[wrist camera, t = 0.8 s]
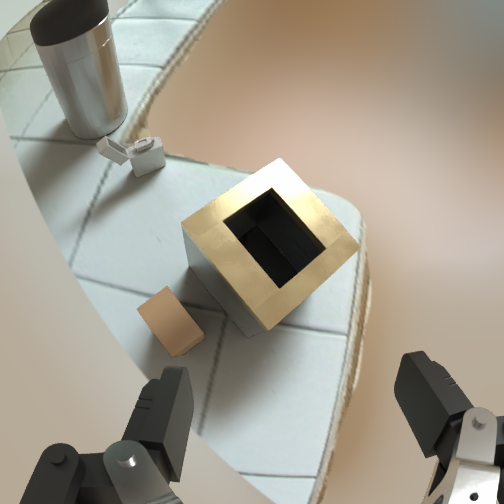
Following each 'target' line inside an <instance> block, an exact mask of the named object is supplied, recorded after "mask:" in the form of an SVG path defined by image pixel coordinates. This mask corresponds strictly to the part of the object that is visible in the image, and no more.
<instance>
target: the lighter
mask: <svg viewBox="0 0 504 504" xmlns="http://www.w3.org/2000/svg"><path fill="white" fill-rule="evenodd" d="M134 143H135V145H133V146H131V147H128V148H127V149H126V148H125V147H123V146H121V145H120V144H118V143H117V142H115V141H113V140H112V139H110V138H109V137H107V136H105V137H103V138H102V139H101V140H100V141H99V142H98V143H97V148H98V151H99V153H100V154H101V155H103V156H104V157H106V158H108V159H110V160H112V161H114V162H116V163H118V164H119V165H122V164H123V163H124V162H126V161H127V160H128V159H130V162H131V165H132V168H133V171H134V173H135V176H136V177H137V178H138V177H140V176H143V175H145V174H147V173H150V172H152V171H154V170H157V169H159V168H162V167H164V166H165V165H166V162H165V156H164V150H163V144H162V142H161V140H160V138H159V136H156V137H153V138H149V137H145V138H142V139H140V140H138V141H135V142H134Z"/></svg>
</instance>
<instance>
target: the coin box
mask: <svg viewBox="0 0 504 504" xmlns="http://www.w3.org/2000/svg"><path fill="white" fill-rule="evenodd" d="M181 225H182V231H183V237H184V242H185V248H186V253H187V258H188V264H189V267H190V268H191V269H192V271H193V272H194V273H195V274H196V276H197V277H198V278H199V279H200V281H201V282H202V283H203V285H204V286H205V287H206V288H207V290H208V291H209V292H210V293H211V295H212V296H213V297H214V298H215V300H216V301H217V302H218V303H219V304H220V306H221V307H222V308H223V309H224V311H225V312H226V313H227V314H228V316H229V317H230V318H231V319H232V320H233V322H234V323H235V324H236V325H237V326H238V328H239V329H240V330H241V331H242V332H243V334H244V335H245V336H246V337H251V336H254V335H257V334H260V333H263V332H266V331H269V330H270V329H271V328H273V327H274V326H275V325H276V324H277V323H279V322H280V321H281V320H282V319H283V318H284V317H285V316H287V315H288V314H289V313H290V312H291V311H292V310H293V309H295V308H296V307H297V306H298V305H299V304H300V303H301V302H302V301H304V300H305V299H306V298H307V297H308V296H309V295H310V294H311V293H312V292H314V291H315V290H316V289H317V288H318V287H319V286H320V285H321V284H322V283H323V282H325V281H326V280H327V279H328V278H329V277H330V276H331V275H332V274H333V273H334V272H335V271H336V270H337V269H339V268H340V267H341V266H342V265H343V264H344V263H345V262H346V261H347V260H348V259H349V258H350V257H351V256H352V255H353V254H354V253H355V252H356V251H357V250H358V249H359V248H360V246H359V244H358V243H357V242H356V241H355V240H354V239H353V237H352V236H351V235H350V234H349V233H348V232H347V230H346V229H345V228H344V227H343V226H342V225H341V223H340V222H339V221H338V220H337V219H336V218H335V217H334V215H333V214H332V213H331V212H330V211H329V210H328V209H327V208H326V207H325V205H324V204H323V203H322V202H321V201H320V200H319V199H318V198H317V197H316V196H315V194H314V193H313V192H312V191H311V190H310V189H309V188H308V187H307V186H306V185H305V184H304V183H303V182H302V181H301V179H300V178H299V177H298V176H297V175H296V174H295V173H294V172H293V171H292V170H291V169H290V168H289V167H288V166H287V165H286V164H285V163H284V162H283V161H282V160H281V159H278V160H276V161H274V162H273V163H271V164H270V165H268V166H266V167H265V168H263V169H261V170H260V171H258V172H257V173H255V174H254V175H252V176H250V177H249V178H247V179H246V180H244V181H243V182H241V183H239V184H238V185H236V186H235V187H233V188H232V189H230V190H229V191H227V192H226V193H224V194H222V195H221V196H219V197H218V198H216V199H215V200H213V201H212V202H210V203H209V204H207V205H206V206H204V207H203V208H201V209H200V210H199V211H197V212H196V213H194V214H193V215H191V216H190V217H188V218H187V219H185V220H184V221H182V222H181ZM256 225H258V227H259V228H260V229H261V230H262V231H263V232H264V234H265V235H266V236H267V237H268V238H269V239H270V241H271V242H272V243H273V244H274V245H275V246H276V248H277V249H278V250H279V251H280V252H281V253H282V255H283V256H284V257H285V258H286V259H287V260H288V262H289V263H290V264H291V265H292V266H293V267H294V269H295V270H296V271H297V272H298V274H297V275H296V276H294V277H293V278H292V279H291V280H290V281H289V282H287V283H286V284H285V285H284V286H283V287H281V288H280V289H279V288H278V287H277V286H276V284H275V283H274V282H273V281H272V280H271V278H270V277H269V276H268V275H267V274H266V273H265V271H264V270H263V269H262V268H261V267H260V265H259V264H258V263H257V262H256V261H255V259H254V258H253V257H252V256H251V255H250V254H249V252H248V251H247V250H246V249H245V248H244V246H243V245H242V244H241V243H240V242H239V240H238V238H239V237H241V236H242V235H243V234H245V233H246V232H247V231H249V230H250V229H252V228H253V227H254V226H256Z"/></svg>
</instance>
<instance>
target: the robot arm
mask: <svg viewBox="0 0 504 504" xmlns="http://www.w3.org/2000/svg"><path fill="white" fill-rule="evenodd" d="M30 31H31V35H32V37H33V40H34V43H35V46H36V48H37V51H38V54H39V56H40V59H41V61H42V63H43V66H44V68H45V71H46V73H47V76H48V78H49V81H50V83H51V85H52V88H53V90H54V92H55V95H56V97H57V99H58V101H59V104H60V106H61V108H62V110H63V112H64V115H65V117H66V119H67V121H68V123H69V125H70V127H71V130H72V131H73V133H74V134H75V135H76V136H77V137H79V138H82V139H95V138H99V137H102V136H105V135H107V134H109V133H111V132H112V131H114V130H115V129H116V128H117V127H118V126H120V125H121V123H122V122H123V121H124V119H125V117H126V115H127V112H128V105H127V101H126V97H125V92H124V87H123V83H122V78H121V74H120V69H119V64H118V59H117V54H116V49H115V44H114V39H113V33H112V28H111V22H110V17H109V9H108V3H107V0H52V1H50V2H49V3H48V4H47V5H45V6H44V7H43V8H42V9H40V10H39V11H38V12H37V14H36V15H35V16H34V17H33V19H32V21H31V23H30ZM394 393H395V397H396V400H397V401H398V403H399V406H400V407H401V409H402V411H403V413H404V415H405V417H406V419H407V421H408V423H409V425H410V427H411V429H412V431H413V433H414V435H415V437H416V439H417V441H418V443H419V445H420V447H421V449H422V452H423V454H424V456H425V458H428V457H431V456H434V455H437V457H438V458H439V459H438V461H437V462H436V464H435V467H434V471H433V474H432V477H431V480H430V483H429V485H428V488H427V491H426V494H425V496H424V499H423V501H422V503H421V504H495V501H496V497H497V499H498V502H499V504H504V416H499V417H495V415H494V414H493V413H492V412H491V411H489V410H487V409H485V408H480V407H475V408H474V406H473V405H472V404H471V402H470V401H469V399H468V398H467V397H466V395H465V394H464V393H463V391H462V390H461V389H460V387H459V386H458V385H457V384H456V382H455V381H454V380H453V378H451V376H450V374H449V373H448V372H447V370H446V369H445V368H444V367H443V366H441V365H440V364H438V363H437V362H435V361H431V360H430V359H429V357H428V356H427V355H426V353H425V352H424V351H417V352H411V353H406V354H404V355H403V357H402V359H401V363H400V367H399V371H398V374H397V377H396V381H395V385H394ZM193 409H194V401H193V394H192V389H191V384H190V379H189V374H188V370H187V368H186V367H170V366H166V367H165V368H164V371H163V374H162V376H161V379H160V380H158V379H152V380H150V381H149V382H148V383H147V384H146V385H145V386H144V387H143V388H142V391H141V393H140V396H139V400H138V401H137V403H136V405H135V409H134V410H133V413H132V415H131V418H130V420H129V423H128V425H127V427H126V430H125V432H124V435H123V437H122V439H121V441H118V442H116V443H113V444H112V445H110V446H109V447H108V448H107V449H106V451H105V452H103V453H91V454H78V452H77V451H76V450H75V448H73V447H72V446H70V445H68V444H63V443H58V444H53V445H51V446H49V447H47V448H46V449H45V450H44V451H43V453H42V455H41V457H40V459H39V461H38V463H37V465H36V467H35V470H34V472H33V474H32V476H31V478H30V480H29V483H28V485H27V487H26V490H25V492H24V494H23V497H22V499H21V501H20V504H183V503H182V501H181V500H180V499H179V498H178V497H177V496H176V495H175V494H174V492H173V491H172V489H171V488H170V487H169V483H170V481H172V482H180V477H181V471H182V466H183V461H184V456H185V451H186V446H187V441H188V435H189V431H190V426H191V421H192V416H193Z"/></svg>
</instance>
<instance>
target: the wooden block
mask: <svg viewBox="0 0 504 504" xmlns="http://www.w3.org/2000/svg"><path fill="white" fill-rule="evenodd" d="M137 311H138V312H139V313H140V315H141V316H142V318H143V319H144V320H145V322H146V323H147V325H148V326H149V327H150V329H151V330H152V331H153V333H154V334H155V335H156V337H157V338H158V339H159V341H160V342H161V343H162V345H163V346H164V347H165V349H166V350H167V351H168V352H169V354H170V355H171V356H172V357H176V356H181V355H184V354H185V353H186V352H188V351H189V350H190V349H191V348H193V347H194V346H195V345H197V344H198V343H199V342H200V341H202V340H203V339H204V338H205V336H204V333H203V331H202V330H201V329H200V328H199V326H198V325H197V324H196V323H195V321H194V320H193V319H192V318H191V316H190V315H189V314H188V312H187V311H186V310H185V309H184V307H183V306H182V305H181V303H180V302H179V301H178V299H177V298H176V297H175V296H174V294H173V293H172V292H171V290H170V289H169V288H168V286H166V287H165V288H164V289H162V290H161V291H160V292H158V293H157V294H156V295H154V296H153V297H152V298H150V299H149V300H148V301H146V302H145V303H144V304H143V305H141V306H140V307H139V308H137Z"/></svg>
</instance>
